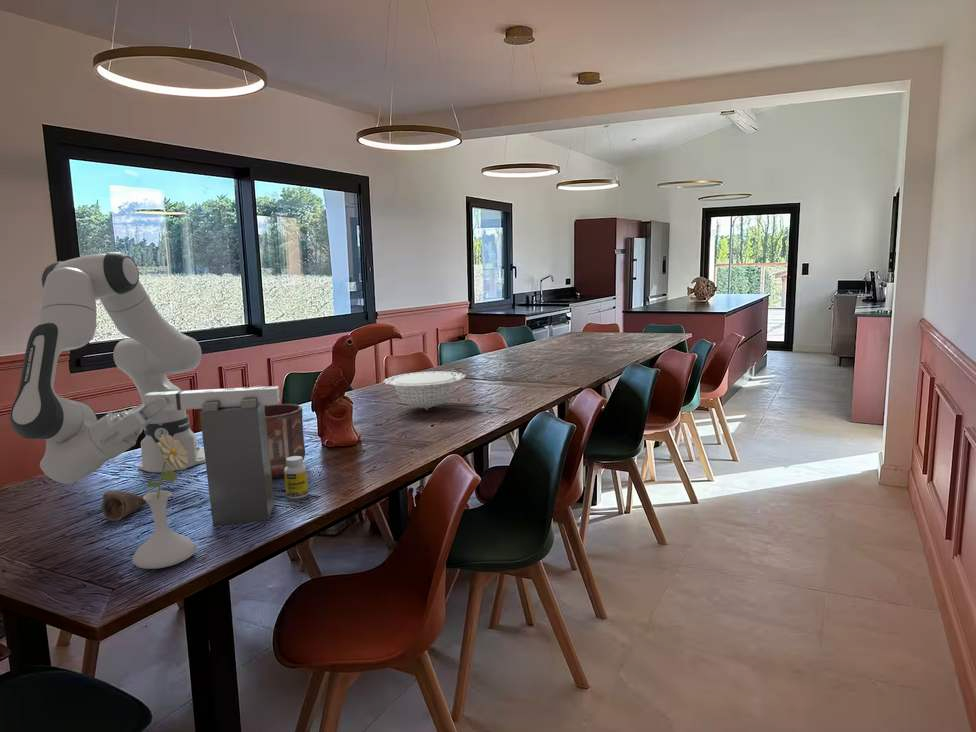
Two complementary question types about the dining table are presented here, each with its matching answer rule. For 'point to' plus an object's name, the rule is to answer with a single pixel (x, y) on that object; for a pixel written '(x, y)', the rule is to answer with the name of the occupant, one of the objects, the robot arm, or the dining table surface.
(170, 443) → the flower in vase
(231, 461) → the block
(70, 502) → the dining table surface
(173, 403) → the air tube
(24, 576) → the dining table surface
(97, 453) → the robot arm
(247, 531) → the dining table surface
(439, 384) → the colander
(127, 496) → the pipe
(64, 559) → the dining table surface
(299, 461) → the supplement bottle
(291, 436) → the pottery
